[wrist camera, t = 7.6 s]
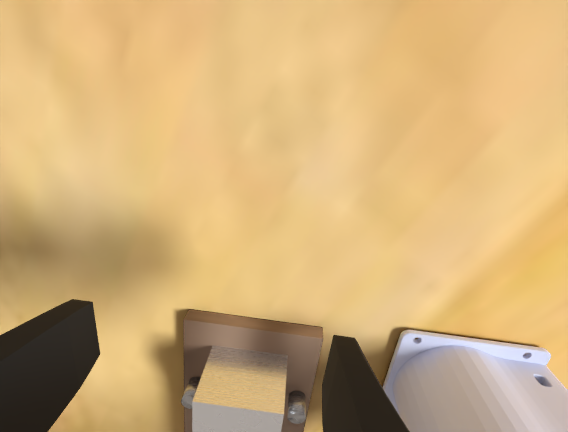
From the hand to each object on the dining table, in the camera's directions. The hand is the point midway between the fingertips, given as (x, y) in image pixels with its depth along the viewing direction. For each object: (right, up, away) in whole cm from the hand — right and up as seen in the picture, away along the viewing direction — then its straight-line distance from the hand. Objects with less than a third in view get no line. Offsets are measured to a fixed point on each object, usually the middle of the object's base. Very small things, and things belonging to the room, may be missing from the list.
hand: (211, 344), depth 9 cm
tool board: (-1, -12, +15) cm, 19 cm away
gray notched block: (-1, -12, +14) cm, 19 cm away
